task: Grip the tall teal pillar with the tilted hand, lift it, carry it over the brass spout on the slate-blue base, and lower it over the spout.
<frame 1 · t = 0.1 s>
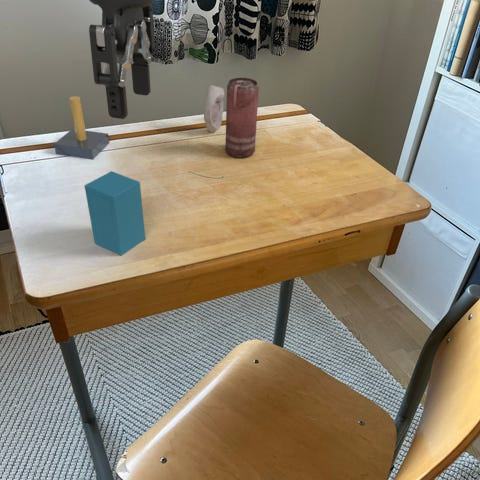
hand: (130, 105, 66), 22 cm above the table, tool pointing down, fingers open, 8 cm apart
fossil: (212, 133, 113), on the table
tall teal pillar: (120, 241, 81), on the table
can: (239, 153, 106), on the table
spout stand: (83, 148, 105), on the table
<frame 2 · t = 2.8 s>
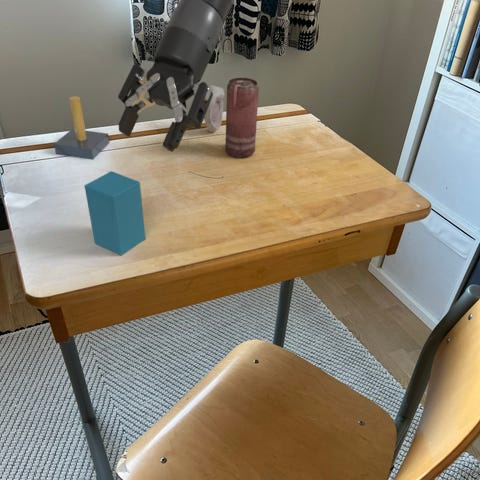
hand: (145, 141, 77), 14 cm above the table, tool tilted 45°, fingers open, 8 cm apart
nothing on the table moved.
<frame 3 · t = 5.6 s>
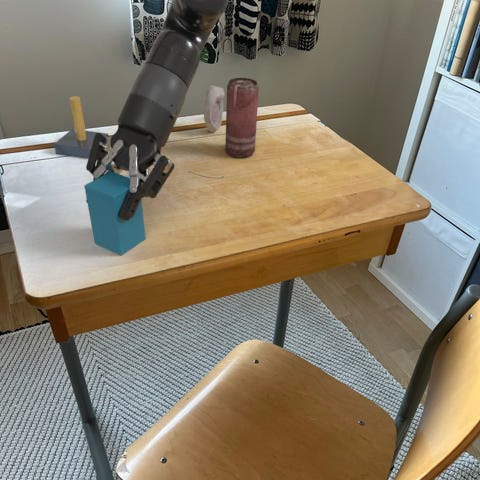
hand: (107, 211, 76), 6 cm above the table, tool tilted 45°, fingers closed on tall teal pillar, 5 cm apart
tall teal pillar: (120, 241, 81), on the table, touching gripper
everything else where it was.
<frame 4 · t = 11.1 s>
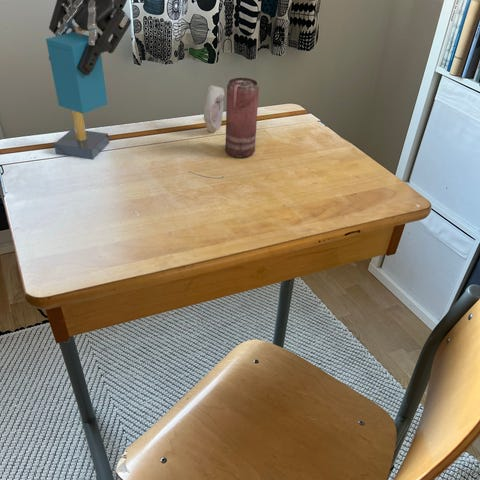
hand: (68, 67, 80), 20 cm above the table, tool tilted 45°, fingers closed on tall teal pillar, 5 cm apart
tall teal pillar: (83, 104, 85), point 14 cm above the table, touching gripper
everything else where it was.
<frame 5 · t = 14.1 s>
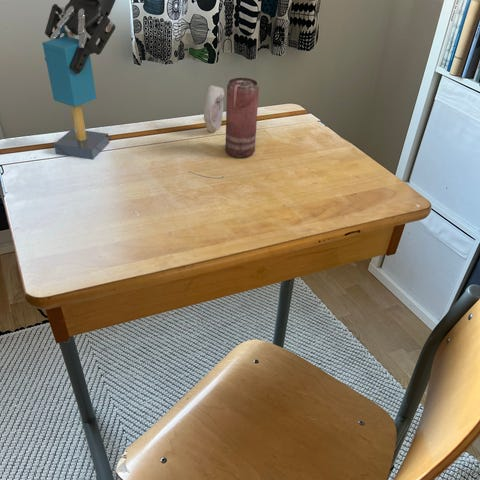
hand: (61, 67, 93), 16 cm above the table, tool tilted 45°, fingers closed on tall teal pillar, 5 cm apart
tall teal pillar: (75, 99, 98), point 10 cm above the table, touching gripper
everything else where it was.
when the fingers open (8 cm above the table, at t = 16.6 s): tall teal pillar stays where it is, resting on spout stand.
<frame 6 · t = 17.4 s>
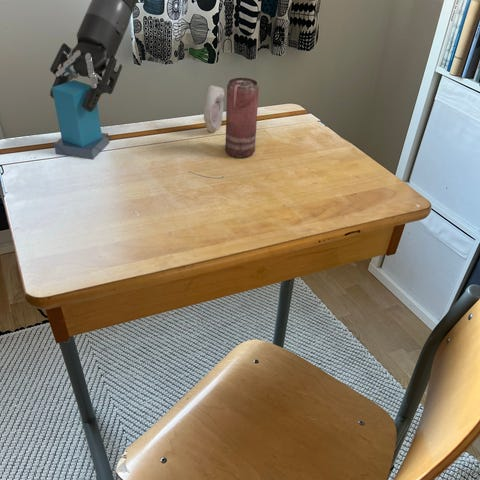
hand: (70, 104, 97), 9 cm above the table, tool tilted 45°, fingers open, 8 cm apart
tall teal pillar: (82, 138, 103), point 2 cm above the table, touching spout stand
everything else where it was.
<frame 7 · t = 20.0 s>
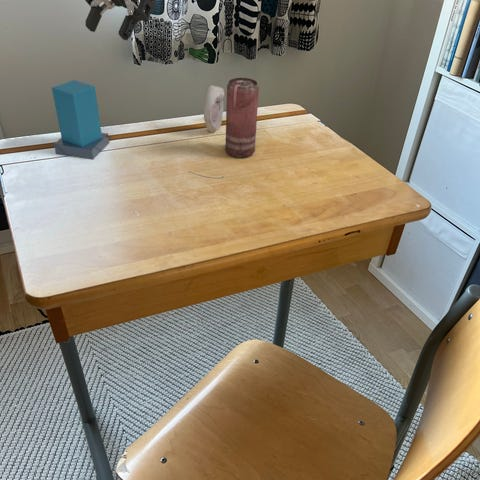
hand: (105, 33, 98), 19 cm above the table, tool tilted 45°, fingers open, 8 cm apart
nothing on the table moved.
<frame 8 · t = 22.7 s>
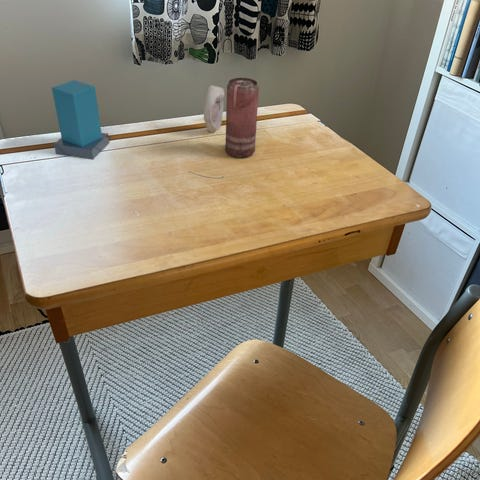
nothing on the table moved.
at the end: tall teal pillar 0.1 cm off-centre on the spout stand, point 2.0 cm above the spout stand's base; tall teal pillar tilted 0°; the gripper is holding nothing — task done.
